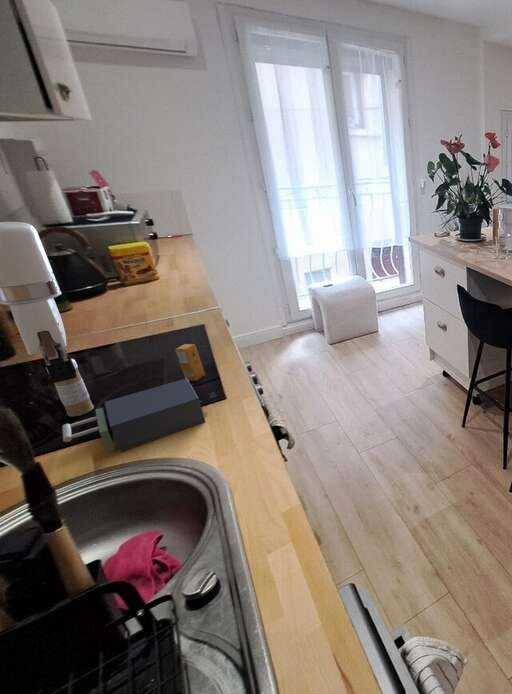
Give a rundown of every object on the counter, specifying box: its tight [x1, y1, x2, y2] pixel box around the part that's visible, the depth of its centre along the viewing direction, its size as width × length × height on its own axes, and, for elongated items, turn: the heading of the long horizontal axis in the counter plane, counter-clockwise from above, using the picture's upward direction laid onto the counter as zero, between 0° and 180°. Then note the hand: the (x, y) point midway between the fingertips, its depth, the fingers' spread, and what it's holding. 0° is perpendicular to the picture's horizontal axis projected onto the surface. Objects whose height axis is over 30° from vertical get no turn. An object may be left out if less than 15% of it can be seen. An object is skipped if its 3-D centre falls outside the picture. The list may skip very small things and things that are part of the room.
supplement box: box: [174, 343, 206, 382], centre depth 112 cm, size 3×3×10 cm
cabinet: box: [104, 377, 206, 453], centre depth 94 cm, size 15×13×7 cm
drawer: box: [61, 407, 116, 452], centre depth 91 cm, size 19×11×5 cm, turn 138°
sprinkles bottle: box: [45, 358, 95, 418], centre depth 96 cm, size 5×5×14 cm
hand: (65, 377), depth 81 cm, fingers closed
